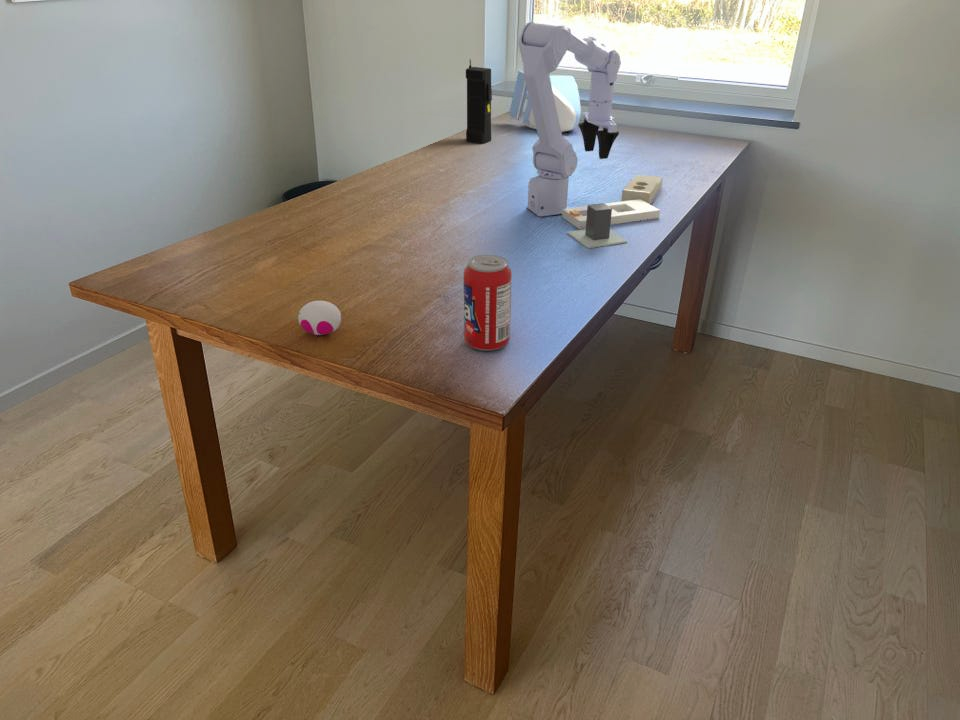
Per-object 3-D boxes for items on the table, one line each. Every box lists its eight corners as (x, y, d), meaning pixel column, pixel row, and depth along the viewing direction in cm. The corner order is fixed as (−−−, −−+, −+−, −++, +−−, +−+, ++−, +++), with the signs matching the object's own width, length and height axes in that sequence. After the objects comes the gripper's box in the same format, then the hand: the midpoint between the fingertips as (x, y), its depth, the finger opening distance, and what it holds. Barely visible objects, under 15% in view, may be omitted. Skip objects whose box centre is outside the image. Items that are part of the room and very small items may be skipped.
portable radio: (495, 140, 247) (496, 60, 235) (485, 144, 243) (486, 62, 230) (474, 137, 251) (475, 58, 238) (465, 141, 246) (464, 60, 234)
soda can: (506, 356, 125) (508, 273, 117) (459, 352, 126) (459, 269, 118) (512, 334, 131) (515, 254, 124) (468, 330, 133) (468, 251, 125)
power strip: (579, 229, 177) (580, 218, 175) (562, 216, 184) (562, 206, 182) (659, 217, 184) (660, 207, 182) (639, 206, 191) (640, 196, 189)
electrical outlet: (663, 174, 203) (650, 193, 188) (661, 188, 205) (648, 208, 190) (636, 171, 205) (622, 189, 191) (635, 185, 207) (620, 205, 193)
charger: (593, 240, 169) (596, 210, 166) (585, 234, 172) (587, 205, 169) (609, 238, 170) (611, 208, 167) (600, 232, 174) (603, 203, 170)
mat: (587, 248, 166) (587, 246, 166) (567, 233, 174) (567, 231, 174) (626, 242, 169) (627, 241, 169) (604, 228, 177) (605, 226, 177)
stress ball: (300, 351, 132) (286, 334, 126) (310, 312, 136) (297, 293, 130) (341, 354, 131) (329, 336, 125) (350, 314, 134) (339, 295, 128)
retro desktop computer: (522, 53, 251) (556, 48, 260) (508, 116, 267) (541, 109, 275) (571, 86, 239) (605, 80, 248) (553, 149, 255) (586, 141, 263)
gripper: (629, 104, 183) (624, 160, 190) (600, 93, 195) (596, 146, 201) (604, 107, 181) (599, 162, 188) (576, 95, 192) (572, 148, 199)
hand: (596, 154), depth 194 cm, fingers open, 7 cm apart
